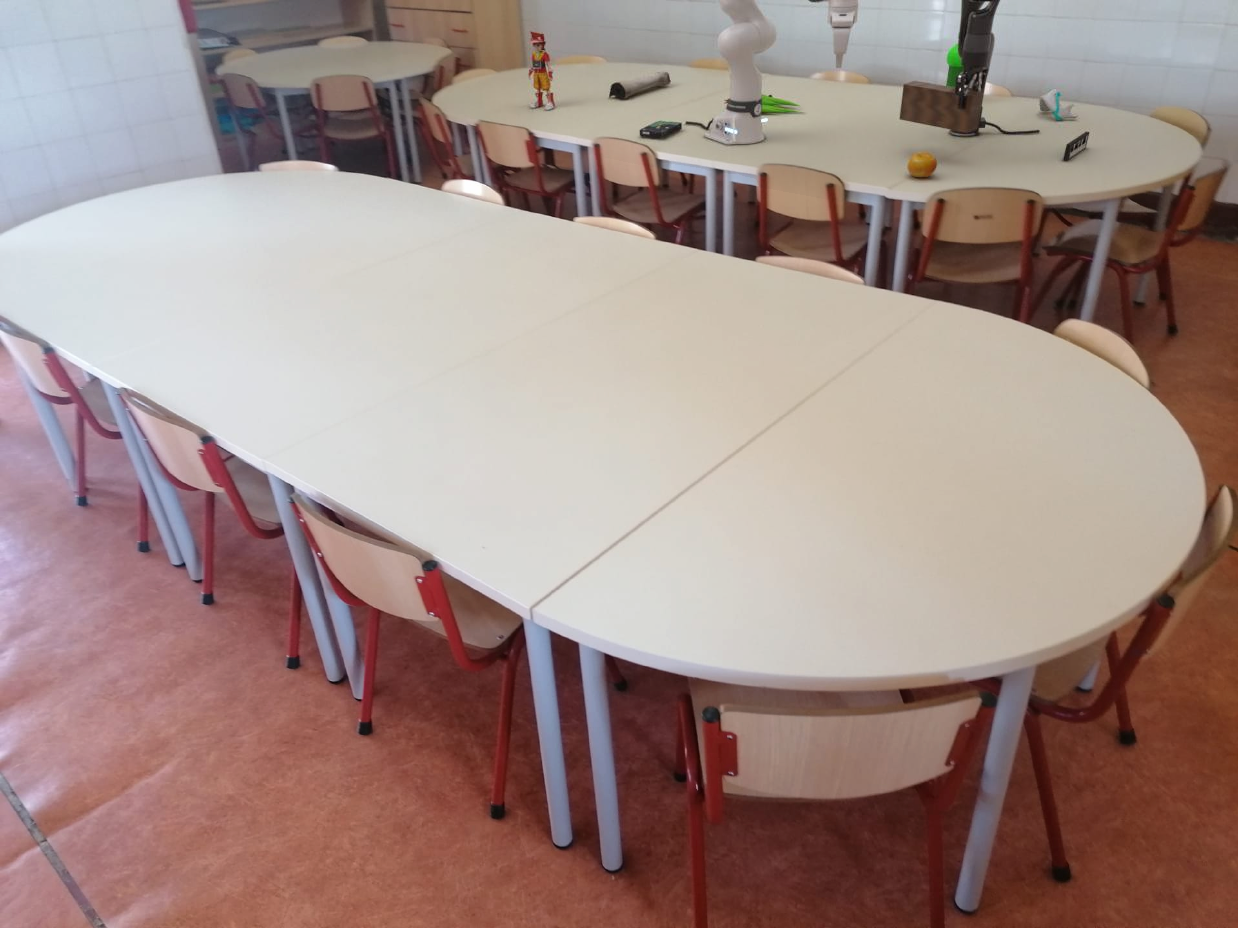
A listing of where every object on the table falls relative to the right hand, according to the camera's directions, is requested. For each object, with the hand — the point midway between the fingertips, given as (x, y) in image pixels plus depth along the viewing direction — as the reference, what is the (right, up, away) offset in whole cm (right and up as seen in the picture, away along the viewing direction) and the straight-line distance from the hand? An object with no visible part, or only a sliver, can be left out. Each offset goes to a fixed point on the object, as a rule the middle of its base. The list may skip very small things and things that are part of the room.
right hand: (967, 106), depth 282 cm
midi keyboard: (+39, -11, +11) cm, 42 cm away
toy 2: (-50, +30, +78) cm, 97 cm away
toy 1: (-142, +40, +101) cm, 179 cm away
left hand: (-40, +14, +1) cm, 43 cm away
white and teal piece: (+51, +16, +49) cm, 72 cm away
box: (-6, -2, +10) cm, 12 cm away
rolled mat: (-100, +52, +115) cm, 161 cm away
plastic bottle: (+23, +31, +73) cm, 83 cm away
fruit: (-15, -22, +1) cm, 26 cm away
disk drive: (-94, +12, +57) cm, 111 cm away
